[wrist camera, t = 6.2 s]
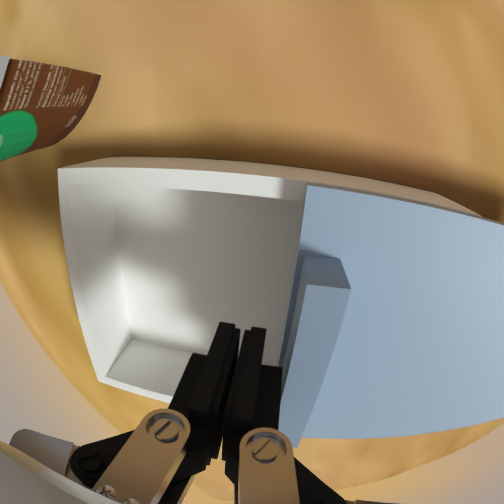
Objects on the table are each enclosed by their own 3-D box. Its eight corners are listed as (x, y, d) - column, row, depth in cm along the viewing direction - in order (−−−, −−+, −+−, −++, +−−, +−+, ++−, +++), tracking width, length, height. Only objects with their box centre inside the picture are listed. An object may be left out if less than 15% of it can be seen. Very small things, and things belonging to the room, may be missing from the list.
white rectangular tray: (111, 156, 14) (57, 168, 10) (434, 192, 13) (481, 215, 9) (128, 339, 19) (98, 381, 15) (375, 374, 18) (388, 425, 13)
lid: (306, 182, 9) (312, 198, 7) (585, 251, 8) (611, 270, 5) (264, 425, 14) (259, 464, 11) (502, 411, 12) (514, 436, 10)
